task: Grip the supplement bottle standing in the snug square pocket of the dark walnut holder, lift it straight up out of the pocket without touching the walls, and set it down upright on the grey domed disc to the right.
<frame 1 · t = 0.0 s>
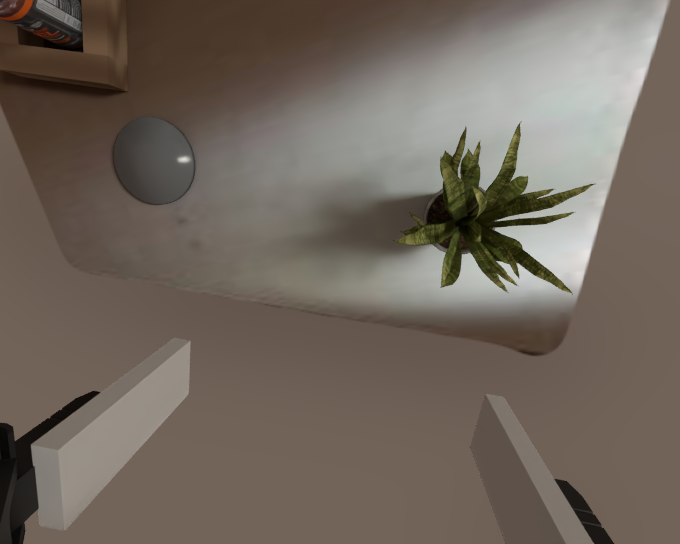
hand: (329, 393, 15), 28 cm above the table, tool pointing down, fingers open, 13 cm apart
supplement bottle: (74, 22, 39), resting in pocket holder
grey domed disc: (155, 162, 42), on the table
house plant: (458, 215, 40), on the table
pocket holder: (72, 21, 39), on the table
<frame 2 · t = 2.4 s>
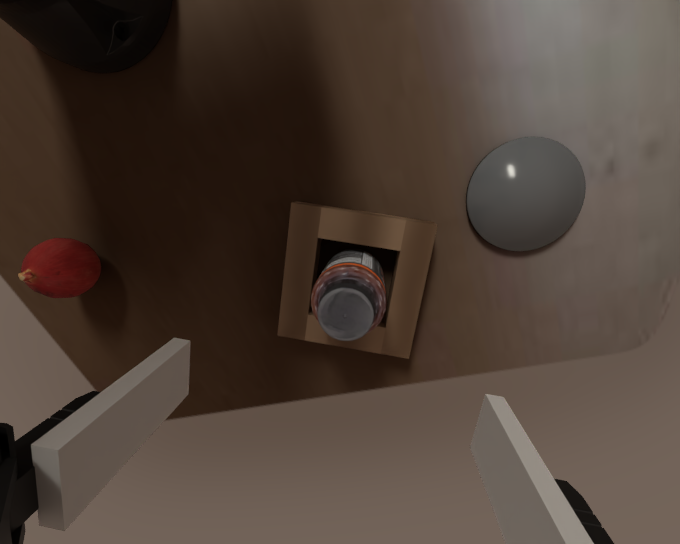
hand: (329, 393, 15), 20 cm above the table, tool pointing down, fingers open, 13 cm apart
supplement bottle: (354, 275, 35), resting in pocket holder
grey domed disc: (522, 196, 31), on the table
onion: (95, 259, 37), on the table
pocket holder: (354, 275, 34), on the table
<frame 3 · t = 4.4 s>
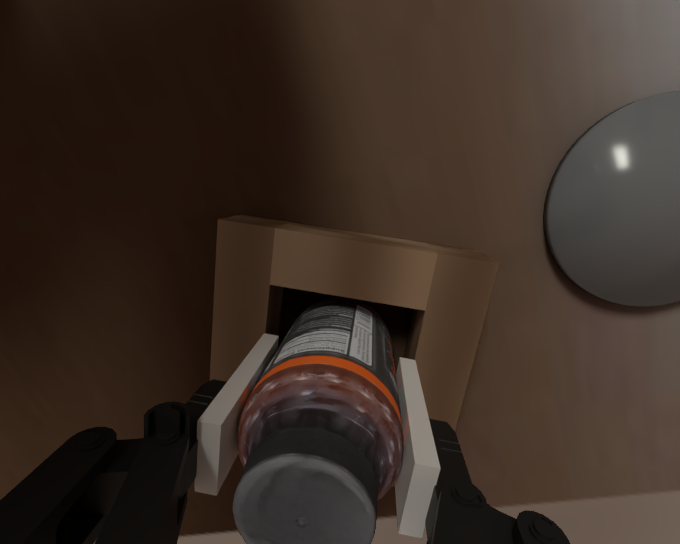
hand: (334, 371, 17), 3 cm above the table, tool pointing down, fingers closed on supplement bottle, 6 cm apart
supplement bottle: (341, 339, 20), resting in pocket holder, touching gripper
grey domed disc: (651, 205, 17), on the table
pocket holder: (341, 341, 20), on the table
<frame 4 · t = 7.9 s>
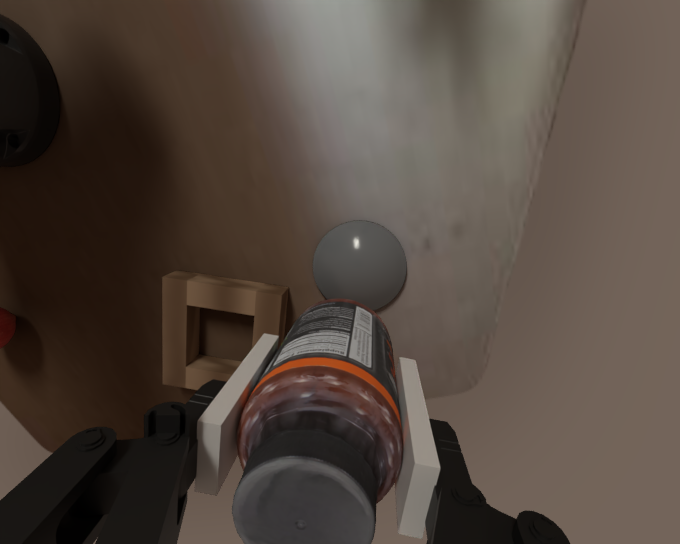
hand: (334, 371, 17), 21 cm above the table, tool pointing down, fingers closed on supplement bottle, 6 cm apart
supplement bottle: (341, 341, 20), point 17 cm above the table, touching gripper
grey domed disc: (359, 266, 37), on the table
onion: (15, 317, 43), on the table
pocket holder: (230, 330, 40), on the table
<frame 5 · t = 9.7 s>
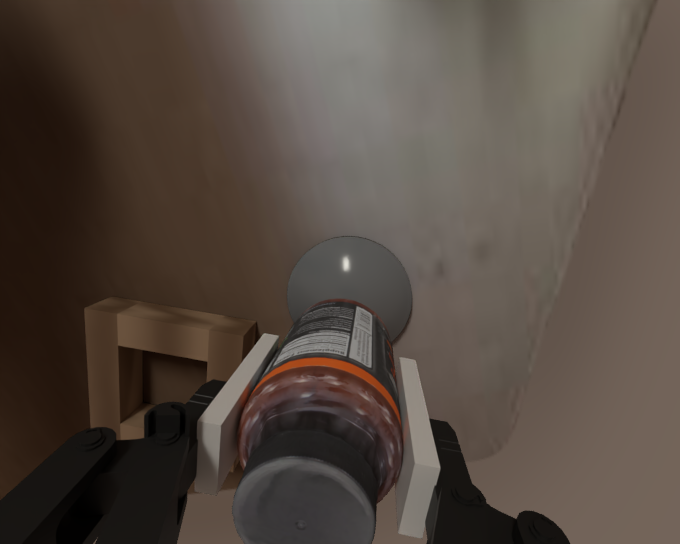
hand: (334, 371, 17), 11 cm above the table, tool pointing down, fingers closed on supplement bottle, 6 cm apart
supplement bottle: (341, 341, 20), point 8 cm above the table, touching gripper
grey domed disc: (349, 297, 28), on the table
pocket holder: (181, 374, 31), on the table
when the fingers open (5 cm above the table, at t = 11.2 s): supplement bottle drops 1 cm, resting on grey domed disc.
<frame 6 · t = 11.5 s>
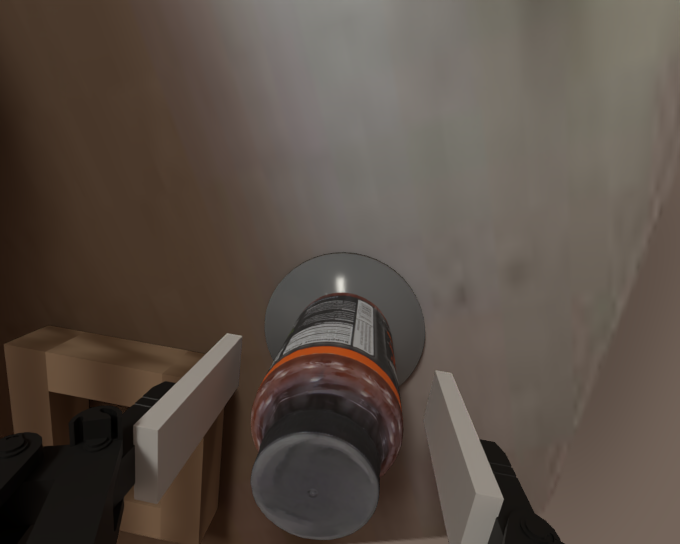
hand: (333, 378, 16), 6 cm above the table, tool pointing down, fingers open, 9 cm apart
supplement bottle: (343, 333, 21), resting on grey domed disc
grey domed disc: (343, 329, 22), on the table
pocket holder: (137, 421, 25), on the table
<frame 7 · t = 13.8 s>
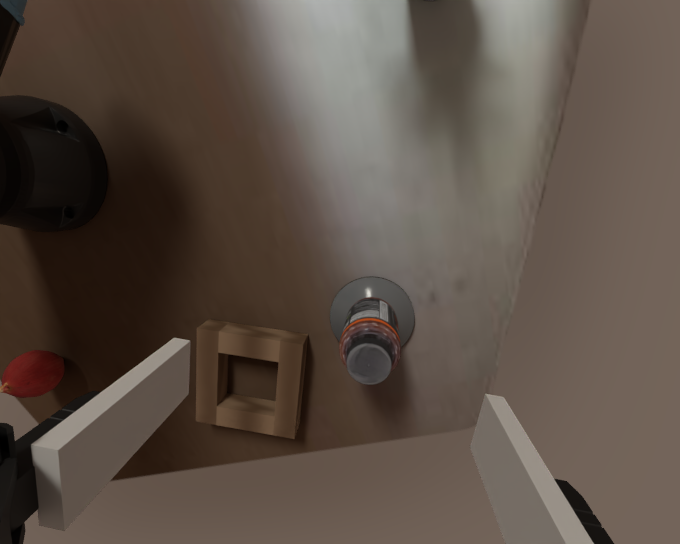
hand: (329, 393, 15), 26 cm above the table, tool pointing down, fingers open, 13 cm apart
supplement bottle: (371, 318, 41), resting on grey domed disc
grey domed disc: (371, 316, 41), on the table
onion: (62, 359, 48), on the table
pocket holder: (255, 372, 45), on the table
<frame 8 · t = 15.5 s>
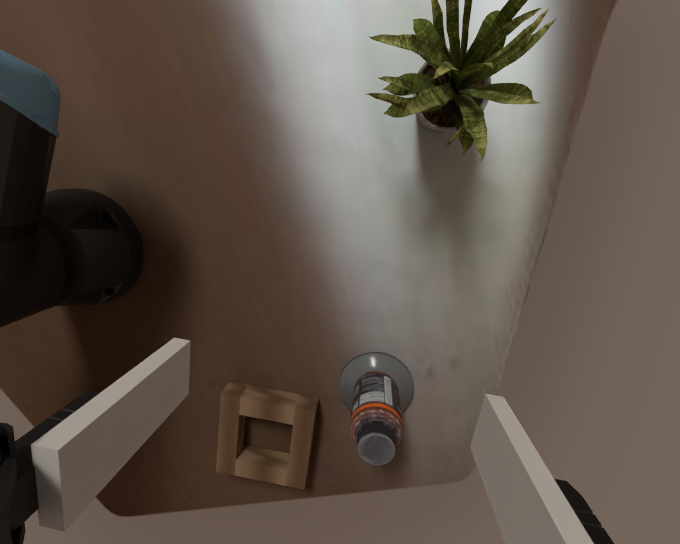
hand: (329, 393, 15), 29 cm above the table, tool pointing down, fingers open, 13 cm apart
supplement bottle: (376, 387, 46), resting on grey domed disc
grey domed disc: (375, 385, 47), on the table
house plant: (441, 92, 38), on the table
pocket holder: (270, 428, 50), on the table
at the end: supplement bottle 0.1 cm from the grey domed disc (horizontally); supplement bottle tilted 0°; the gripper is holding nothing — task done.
